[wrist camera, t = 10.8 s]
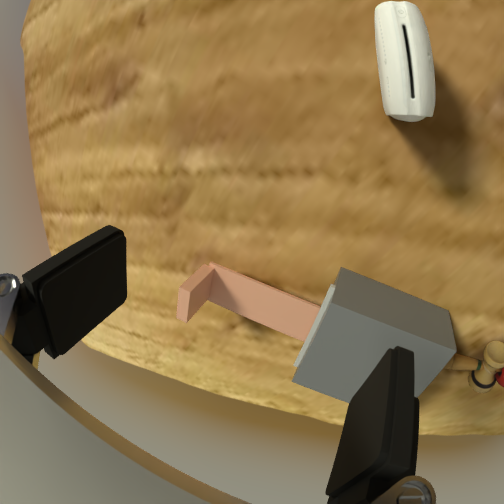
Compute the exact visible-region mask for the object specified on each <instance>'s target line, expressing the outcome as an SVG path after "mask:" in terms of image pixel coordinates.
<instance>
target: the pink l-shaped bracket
mask: <svg viewBox="0 0 504 504" xmlns="http://www.w3.org/2000/svg"><path fill="white" fill-rule="evenodd" d="M207 300H209V301H211V302H213V303H215V304H217V305H220V306H222V307H224V308H226V309H228V310H231V311H233V312H235V313H237V314H240V315H242V316H244V317H247V318H249V319H251V320H253V321H256V322H258V323H260V324H263V325H265V326H267V327H270V328H272V329H275V330H277V331H279V332H282V333H284V334H287V335H289V336H291V337H294V338H296V339H299V340H301V341H304V342H305V340H306V338H307V336H308V334H309V332H310V330H311V327H312V325H313V323H314V321H315V319H316V317H317V314H318V312H319V310H320V308H321V306H318V305H316V304H313V303H311V302H308V301H306V300H303V299H301V298H298V297H296V296H293V295H291V294H288V293H286V292H283V291H281V290H279V289H276V288H274V287H271V286H269V285H266V284H264V283H262V282H259V281H257V280H254V279H252V278H249V277H247V276H245V275H242V274H240V273H237V272H235V271H233V270H230V269H228V268H226V267H223V266H221V265H218V264H216V263H214V262H210V264H209V266H208V265H206V264H203V265H202V266H201V267H200V268H199V269H198V270H197V271H196V272H195V273H194V274H193V275H191V276H190V277H189V278H188V279H187V280H186V281H185V282H184V283H183V284H182V285H181V286H180V287H179V294H178V305H177V317H176V318H178V319H180V320H182V321H184V322H186V323H187V322H188V321H189V320H190V319H191V318H192V316H193V315H194V314H195V313H196V312H197V311H198V310H199V309H200V307H201V306H202V305H203V304H204V303H205V302H206V301H207Z"/></svg>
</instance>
